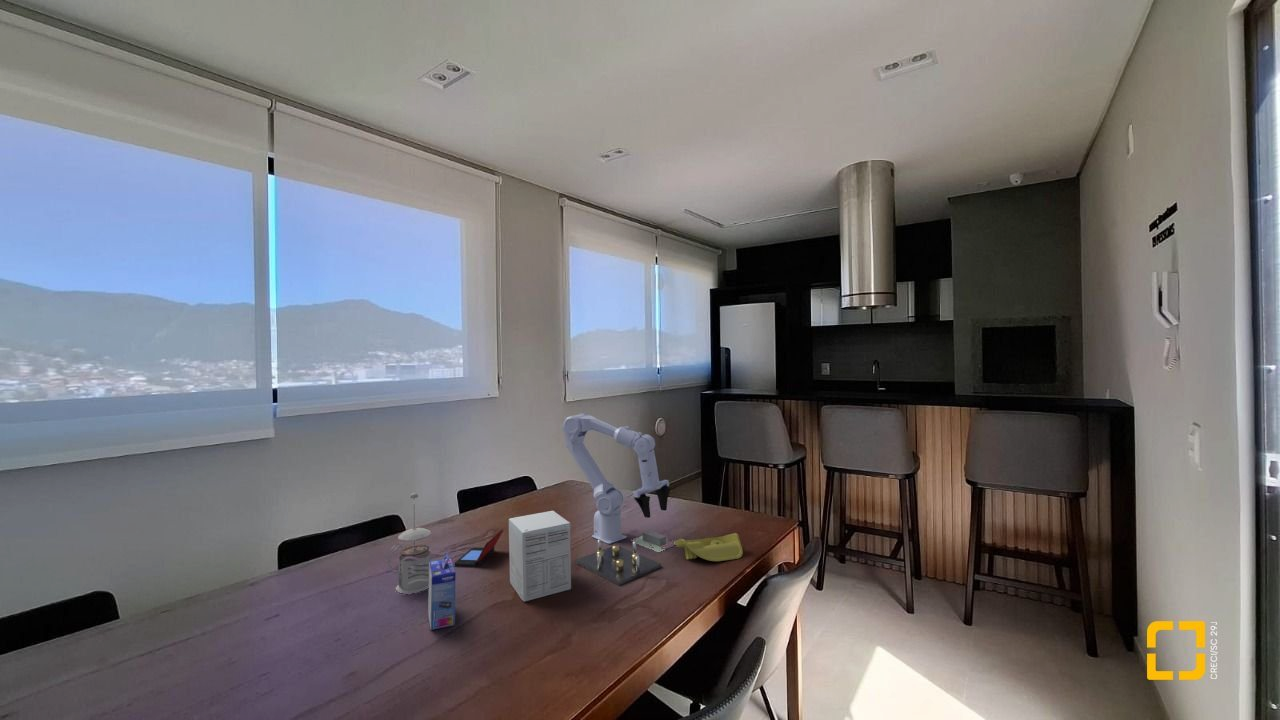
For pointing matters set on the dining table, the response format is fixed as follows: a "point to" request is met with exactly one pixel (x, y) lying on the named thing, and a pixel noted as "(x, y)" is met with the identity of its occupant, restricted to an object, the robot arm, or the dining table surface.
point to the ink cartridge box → (441, 593)
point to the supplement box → (539, 555)
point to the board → (643, 543)
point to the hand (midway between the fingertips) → (655, 513)
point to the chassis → (618, 563)
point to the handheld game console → (478, 553)
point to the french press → (413, 560)
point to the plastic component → (712, 548)
